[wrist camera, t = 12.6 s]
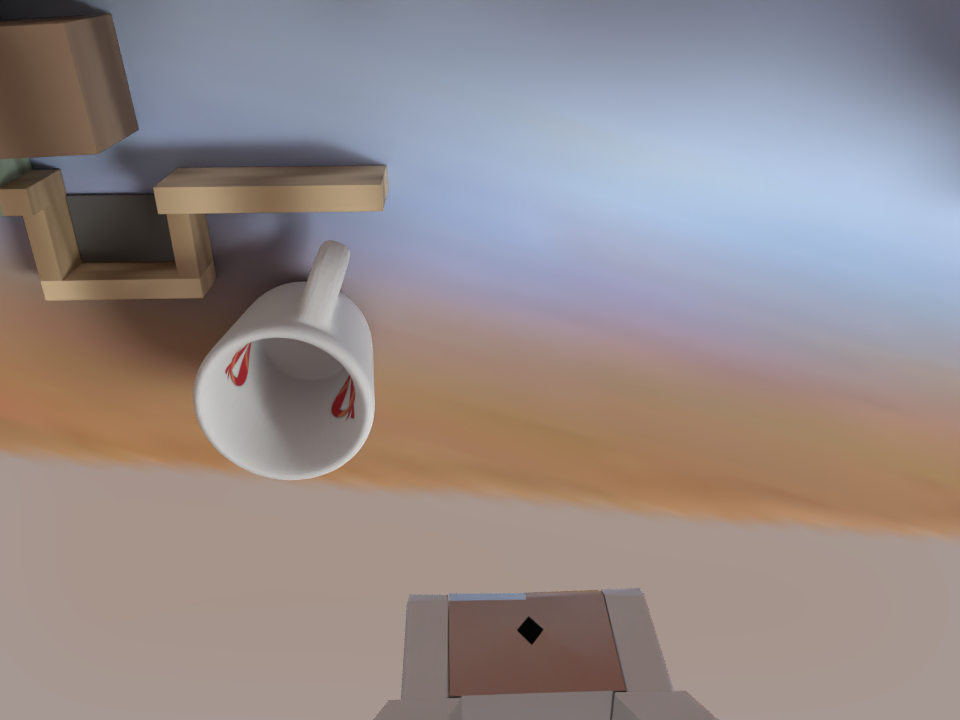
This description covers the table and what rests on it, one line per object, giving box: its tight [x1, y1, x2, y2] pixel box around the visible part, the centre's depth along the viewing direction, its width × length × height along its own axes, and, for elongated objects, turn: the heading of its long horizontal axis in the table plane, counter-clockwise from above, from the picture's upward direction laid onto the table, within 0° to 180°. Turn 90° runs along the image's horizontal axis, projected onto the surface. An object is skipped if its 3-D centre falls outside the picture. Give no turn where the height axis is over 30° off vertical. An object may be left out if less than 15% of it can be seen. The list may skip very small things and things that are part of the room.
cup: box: [193, 240, 375, 480], centre depth 38 cm, size 11×8×8 cm
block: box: [0, 14, 139, 159], centre depth 34 cm, size 5×5×5 cm
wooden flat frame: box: [0, 158, 388, 301], centre depth 35 cm, size 18×19×4 cm
